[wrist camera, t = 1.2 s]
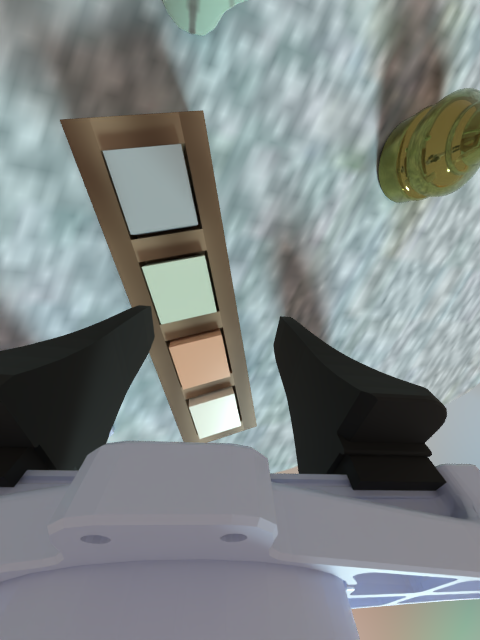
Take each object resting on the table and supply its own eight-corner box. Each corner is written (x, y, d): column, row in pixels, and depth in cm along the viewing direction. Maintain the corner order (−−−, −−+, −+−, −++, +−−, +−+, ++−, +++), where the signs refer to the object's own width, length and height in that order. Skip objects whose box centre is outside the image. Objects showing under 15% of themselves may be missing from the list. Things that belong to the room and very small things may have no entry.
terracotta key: (183, 376, 20) (183, 389, 18) (170, 337, 18) (168, 347, 16) (226, 364, 21) (230, 376, 19) (218, 325, 19) (221, 334, 17)
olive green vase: (405, 217, 23) (544, 200, 14) (362, 179, 21) (500, 129, 12) (447, 148, 22) (635, 81, 13) (407, 98, 19) (608, -34, 10)
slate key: (137, 235, 15) (130, 234, 13) (114, 163, 13) (102, 150, 11) (196, 225, 16) (198, 224, 14) (181, 156, 14) (181, 143, 12)
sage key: (163, 316, 17) (161, 324, 16) (147, 264, 16) (141, 267, 14) (213, 304, 18) (216, 311, 16) (202, 254, 16) (204, 255, 15)
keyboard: (186, 417, 26) (186, 449, 22) (93, 152, 15) (59, 119, 11) (246, 399, 27) (256, 426, 23) (199, 142, 16) (203, 110, 12)
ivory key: (198, 423, 23) (199, 439, 21) (188, 392, 21) (189, 407, 19) (236, 411, 23) (241, 425, 21) (230, 380, 22) (234, 393, 20)
